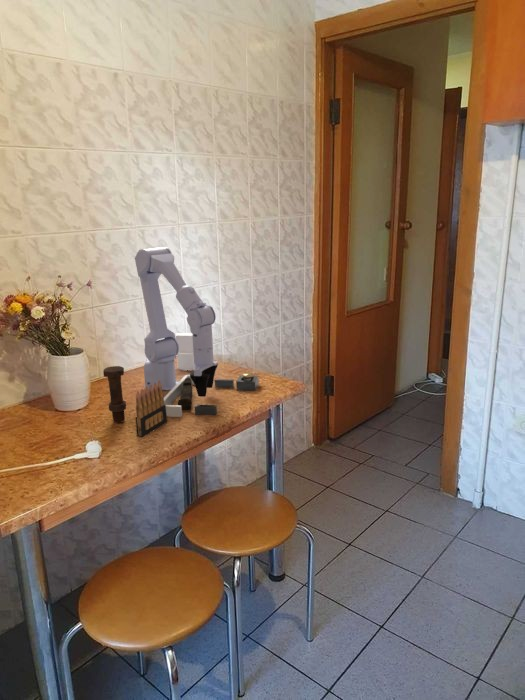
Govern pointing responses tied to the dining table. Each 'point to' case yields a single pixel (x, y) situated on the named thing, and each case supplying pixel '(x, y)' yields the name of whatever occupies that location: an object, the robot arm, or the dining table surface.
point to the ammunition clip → (150, 410)
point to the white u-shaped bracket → (171, 396)
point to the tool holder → (227, 383)
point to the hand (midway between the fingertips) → (205, 391)
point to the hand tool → (186, 395)
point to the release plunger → (247, 376)
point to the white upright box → (185, 351)
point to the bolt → (116, 392)
